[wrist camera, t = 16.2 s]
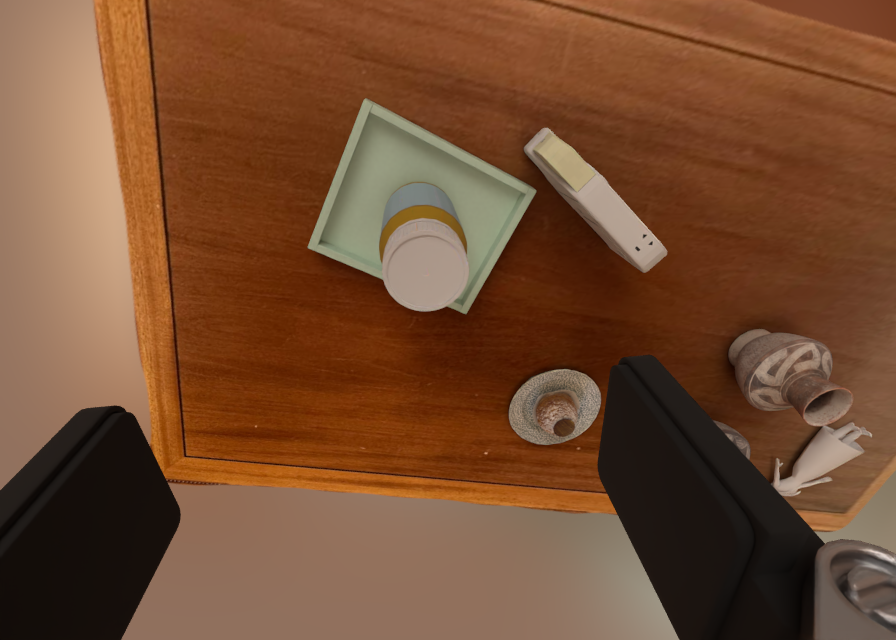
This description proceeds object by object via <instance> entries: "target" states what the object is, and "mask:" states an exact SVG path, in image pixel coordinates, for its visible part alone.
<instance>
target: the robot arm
mask: <svg viewBox="0 0 896 640" xmlns="http://www.w3.org/2000/svg"><path fill="white" fill-rule="evenodd" d="M598 472H599V476H600V479H601V482H602V484H603V486H604V488H605V490H606V492H607V494H608V496H609V498H610V500H611V502H612V504H613V506H614V508H615V510H616V512H617V514H618V516H619V518H620V520H621V522H622V524H623V526H624V528H625V530H626V532H627V534H628V536H629V539H630V541H631V543H632V545H633V547H634V549H635V551H636V553H637V555H638V557H639V559H640V561H641V563H642V565H643V567H644V569H645V571H646V573H647V575H648V577H649V579H650V581H651V583H652V585H653V587H654V589H655V591H656V593H657V595H658V597H659V599H660V601H661V603H662V605H663V607H664V609H665V611H666V613H667V615H668V618H669V620H670V621H671V624H672V625H673V628H674V629H675V632H676V634H677V636H678V638H679V639H680V640H896V554H894V553H893V552H891V551H888V550H886V549H884V548H882V547H879V546H876V545H872V544H869V543H865V542H862V541H855V540H843V539H840V540H836V541H831V542H827V543H826V544H825V543H824V542H823V541H822V540H821V539H820V538H819V537H818V536H817V534H816V533H815V532H814V531H813V530H812V529H811V527H810V526H809V525H808V524H807V523H806V522H805V521H804V520H803V519H802V518H801V517H800V515H799V514H798V513H797V512H796V511H795V510H794V509H793V508H792V507H791V506H790V504H789V503H788V502H787V501H786V500H785V499H784V498H783V497H782V496H781V495H780V494H779V492H778V491H777V490H776V489H775V488H774V487H773V486H772V485H771V484H770V483H769V481H768V480H767V479H766V478H765V477H764V476H763V475H762V474H761V473H760V472H759V471H758V469H757V468H756V467H755V466H754V465H753V464H752V463H751V462H750V461H749V460H748V458H747V457H746V456H745V455H744V454H743V453H742V452H741V451H740V450H739V449H738V447H737V446H736V445H735V444H734V443H733V442H732V441H731V440H730V439H729V438H728V437H727V435H726V434H725V433H724V432H723V431H722V430H721V429H720V428H719V427H718V426H717V424H716V423H715V422H714V421H713V420H712V419H711V418H710V417H709V416H708V415H707V414H706V412H705V411H704V410H703V409H702V408H701V407H700V406H699V405H698V404H697V403H696V401H695V400H694V399H693V398H692V397H691V396H690V395H689V394H688V393H687V392H686V391H685V389H684V388H683V387H682V386H681V385H680V384H679V383H678V382H677V381H676V380H675V378H674V377H673V376H672V375H671V374H670V373H669V372H668V371H667V370H666V369H665V368H664V366H663V365H662V364H661V363H660V362H659V361H658V360H657V359H656V358H655V357H654V356H652V355H643V356H633V357H623V358H621V360H620V361H619V364H618V365H614V366H612V368H611V371H610V378H609V385H608V392H607V399H606V406H605V414H604V421H603V428H602V435H601V442H600V450H599V457H598ZM180 515H181V514H180V508H179V505H178V504H177V501H176V499H175V497H174V495H173V493H172V491H171V489H170V487H169V485H168V483H167V481H166V479H165V477H164V475H163V473H162V471H161V468H160V466H159V464H158V462H157V460H156V458H155V456H154V454H153V452H152V450H151V448H150V446H149V444H148V442H147V440H146V438H145V436H144V434H143V432H142V430H141V428H140V426H139V423H138V422H137V419H136V418H135V416H134V415H133V414H132V413H129V412H126V410H125V409H124V408H122V407H120V406H106V407H95V408H86V409H83V410H81V411H79V412H78V413H76V414H75V416H73V418H72V419H71V420H70V421H69V422H68V423H67V424H66V425H65V426H64V427H63V428H62V429H61V430H60V431H59V432H58V433H57V434H56V435H55V436H54V437H53V438H52V439H51V440H50V441H49V442H48V443H47V444H46V445H45V446H44V447H43V448H42V449H41V450H40V451H39V452H38V453H37V454H36V455H35V456H34V457H33V458H32V459H31V460H30V461H29V462H28V463H27V464H26V465H25V466H24V467H23V468H22V469H21V470H20V471H19V472H18V473H17V474H16V475H15V476H14V477H13V478H12V479H11V480H10V481H9V482H8V483H7V484H6V485H5V486H4V487H3V488H2V489H1V490H0V640H121V639H122V636H123V635H124V633H125V631H126V629H127V627H128V625H129V623H130V621H131V619H132V617H133V615H134V613H135V611H136V609H137V607H138V605H139V603H140V601H141V599H142V597H143V595H144V593H145V591H146V589H147V587H148V585H149V583H150V581H151V579H152V577H153V576H154V574H155V571H156V570H157V568H158V566H159V564H160V562H161V560H162V558H163V556H164V554H165V552H166V550H167V548H168V546H169V544H170V542H171V540H172V538H173V536H174V534H175V532H176V530H177V528H178V525H179V523H180Z"/></svg>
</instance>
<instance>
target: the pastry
mask: <svg viewBox="0 0 896 640" xmlns="http://www.w3.org/2000/svg"><path fill="white" fill-rule="evenodd" d="M600 405H601V394H600V391H599V388H598V387H597V385H596V384H595V382H594V381H593V380H592V379H591V378H589V377H588V376H587V375H585V374H583V373H581V372H578V371H575V370H569V369H561V370H560V369H559V370H552V371H549V372H545V373H540V374H538V375H536V376H534V377H533V376H532V377H531V378H530V379H529V380H528V381H527V382H526V383H525V384H523V385H522V386H521V388H519V390H518V391H517V392H516V394H515V395H514V397H513V399H512V401H511V403H510V408H509V421H510V424H511V426H512V428H513V429H514V431H515V432H516V433H517V434H518V435H519V436H520V437H521V438H523V439H526V440H528V441H529V442H532V443H535V444H543V445H549V444H556V443H562V442H565V441H567V440H569V439H572V438H575V437H577V436H578V435H580V434H581V433H583V432H584V431H585V430H586V429H587V428H588V427H589V426H590V425H591V424H592V422H593V421H594V420H595V418H596V417H597V415H598V412H599V408H600Z"/></svg>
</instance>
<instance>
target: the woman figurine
mask: <svg viewBox="0 0 896 640" xmlns="http://www.w3.org/2000/svg"><path fill="white" fill-rule="evenodd" d="M854 425H855V424H854V423H853V422H851V423H848V424H847V425H845V426H843V427H841V428H839V429H837V430H834V429H832V428H830V427H827V426H825V425H824V426H823V427H822V428H821V429H820V430H819V431H818V433H817V434H816V435H815V436H814V437H813V438H812V440H811V441H810V442H809V443H808V445H807V446H806V448H805V449H804V450H803V452H802V453H801V455H800V456H799V458H798V459H797V460H796V462H795V463H794V466H793V473H792V476H791V477H788V478H786V479H782V480H779V478H780V474H779V467H780V466H781V465H782V464H783V463H781V464H779V460H778V458H776V460H775V462H776V465H775V472H774V481H773V482H772V483H771V485H772V486H773V487H774V488H775V489H776V490H777V491H778V492H779V494H780V495H781V496H794V495H798V494H799V493H800V492H801V491H799V492H797V493H796V491H797V490H798V489H799V488H803V487H808V486H811V485H814V484H818V483H823V482H829V481H832V480H830V479H832V478H830V477H829V478H830V479H829V478H827V477H825V478H822V479H819V480H815V481H811V482H807V481H810V480H813V479H815V478H817V477H820V476H822V475H823V474H825V473H827V472H829V471H831V470H833V469H835V468H837V467H838V466H840V465H842V464H844V463H846V462H847V461H849V460H851V459H853V458H855V457H857V456H859V455H860V454H862V453H864V452H865V451H864V450H863V449H862V448H861V446H860V445H858V444H857V443H856V442H854V440H855V439H856V438H858V437H859V436H860V435H862V434H863V435H869V436H870V437H872V434H871V433H870V432H868V431H866V429H865V428H864V427H861V428H859V427H856V426H854ZM851 430H855V431H854V432H852V433H850V434H848V435H845V434H847V433H848V432H849V431H851ZM794 493H795V494H794ZM792 494H794V495H792Z"/></svg>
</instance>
